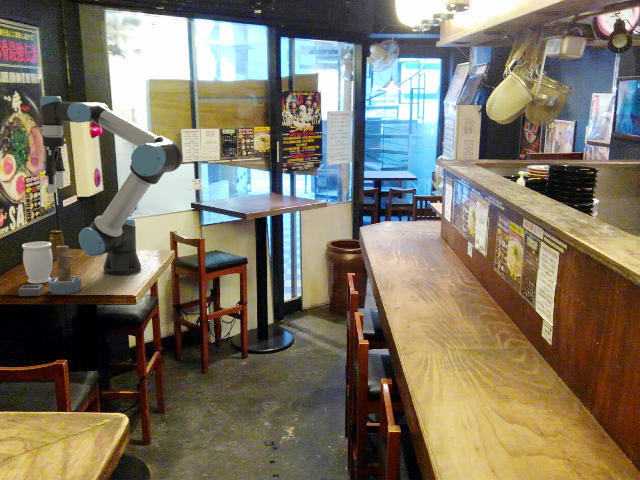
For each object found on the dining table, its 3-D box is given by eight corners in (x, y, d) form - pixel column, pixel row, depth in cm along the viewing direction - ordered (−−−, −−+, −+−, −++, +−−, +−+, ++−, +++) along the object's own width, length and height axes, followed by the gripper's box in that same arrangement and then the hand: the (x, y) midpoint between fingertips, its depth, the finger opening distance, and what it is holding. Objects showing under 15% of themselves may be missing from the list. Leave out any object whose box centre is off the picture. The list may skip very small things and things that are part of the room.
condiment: (48, 256, 275) (46, 230, 272) (67, 254, 280) (66, 228, 277) (52, 259, 269) (50, 233, 267) (72, 257, 274) (70, 231, 272)
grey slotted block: (43, 290, 226) (43, 284, 225) (39, 295, 221) (39, 289, 220) (23, 291, 225) (23, 284, 224) (19, 296, 219) (18, 289, 219)
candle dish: (83, 285, 234) (83, 275, 233) (77, 294, 224) (76, 284, 223) (53, 286, 232) (53, 276, 231) (45, 294, 222) (45, 284, 221)
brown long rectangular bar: (71, 286, 229) (68, 245, 225) (70, 288, 227) (67, 247, 223) (60, 286, 228) (57, 245, 225) (58, 288, 226) (56, 247, 223)
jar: (42, 286, 232) (39, 248, 229) (18, 283, 234) (15, 245, 231) (59, 278, 242) (57, 242, 239) (36, 276, 244) (34, 240, 241)
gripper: (50, 134, 248) (53, 185, 253) (34, 138, 224) (38, 194, 229) (69, 134, 250) (72, 185, 254) (55, 138, 226) (59, 194, 230)
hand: (56, 190), depth 242 cm, fingers open, 13 cm apart
